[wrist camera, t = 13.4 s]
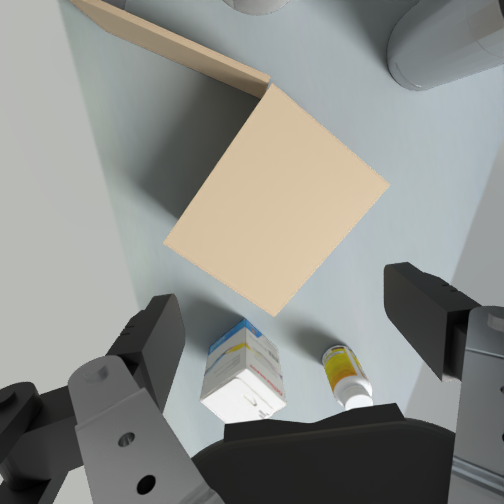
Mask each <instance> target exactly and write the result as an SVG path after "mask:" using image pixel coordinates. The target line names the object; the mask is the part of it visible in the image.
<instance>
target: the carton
mask: <svg viewBox="0 0 504 504" xmlns="http://www.w3.org/2000/svg"><path fill="white" fill-rule="evenodd" d="M389 186H390V184H389V183H388V182H387V181H385V180H384V179H383V178H382V177H381V176H380V175H379V174H377V173H376V172H375V171H374V170H373V169H372V168H370V167H369V166H368V165H367V164H366V163H365V162H363V161H362V160H361V159H360V158H359V157H358V156H357V155H355V154H354V153H353V152H352V151H351V150H350V149H348V148H347V147H346V146H345V145H344V144H343V143H341V142H340V141H339V140H338V139H337V138H336V137H335V136H333V135H332V134H331V133H330V132H329V131H328V130H326V129H325V128H324V127H323V126H322V125H321V124H319V123H318V122H317V121H316V120H315V119H314V118H313V117H311V116H310V115H309V114H308V113H307V112H306V111H304V110H303V109H302V108H301V107H300V106H299V105H297V104H296V103H295V102H294V101H293V100H292V99H290V98H289V97H288V96H287V95H286V94H285V93H284V92H282V91H281V90H280V89H279V88H278V87H277V86H275V85H274V84H273V83H272V84H271V86H270V87H269V89H268V90H267V92H266V93H265V95H264V96H263V98H262V99H261V100H260V102H259V103H258V105H257V106H256V108H255V109H254V111H253V112H252V114H251V115H250V117H249V118H248V119H247V121H246V122H245V124H244V125H243V127H242V128H241V130H240V131H239V133H238V134H237V136H236V137H235V138H234V140H233V141H232V143H231V144H230V146H229V147H228V149H227V150H226V152H225V153H224V155H223V156H222V157H221V159H220V160H219V162H218V163H217V165H216V166H215V168H214V169H213V171H212V172H211V174H210V175H209V176H208V178H207V179H206V181H205V182H204V184H203V185H202V187H201V188H200V190H199V191H198V193H197V194H196V195H195V197H194V198H193V200H192V201H191V203H190V204H189V206H188V207H187V209H186V210H185V212H184V213H183V214H182V216H181V217H180V219H179V220H178V222H177V223H176V225H175V226H174V228H173V229H172V231H171V232H170V233H169V235H168V236H167V238H166V239H165V241H164V242H163V244H165V245H166V246H168V247H169V248H171V249H172V250H174V251H175V252H177V253H178V254H180V255H181V256H183V257H184V258H186V259H188V260H189V261H191V262H192V263H194V264H195V265H197V266H198V267H200V268H201V269H203V270H204V271H206V272H207V273H209V274H210V275H212V276H213V277H215V278H216V279H218V280H219V281H221V282H222V283H224V284H225V285H227V286H228V287H230V288H231V289H233V290H234V291H236V292H237V293H239V294H240V295H242V296H243V297H245V298H246V299H248V300H249V301H251V302H252V303H254V304H255V305H257V306H258V307H260V308H262V309H263V310H265V311H266V312H268V313H269V314H271V315H272V316H274V317H275V316H276V315H277V314H278V313H279V311H280V310H281V309H282V308H283V307H284V306H285V305H286V303H287V302H288V301H289V300H290V299H291V298H292V297H293V295H294V294H295V293H296V292H297V291H298V290H299V289H300V287H301V286H302V285H303V284H304V283H305V282H306V281H307V279H308V278H309V277H310V276H311V275H312V274H313V273H314V271H315V270H316V269H317V268H318V267H319V266H320V265H321V263H322V262H323V261H324V260H325V259H326V258H327V257H328V255H329V254H330V253H331V252H332V251H333V250H334V249H335V247H336V246H337V245H338V244H339V243H340V242H341V241H342V239H343V238H344V237H345V236H346V235H347V234H348V233H349V231H350V230H351V229H352V228H353V227H354V226H355V225H356V223H357V222H358V221H359V220H360V219H361V218H362V217H363V215H364V214H365V213H366V212H367V211H368V210H369V209H370V207H371V206H372V205H373V204H374V203H375V202H376V201H377V199H378V198H379V197H380V196H381V195H382V194H383V193H384V191H385V190H386V189H387V188H388V187H389Z"/></svg>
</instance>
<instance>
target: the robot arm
mask: <svg viewBox="0 0 504 504" xmlns="http://www.w3.org/2000/svg"><path fill="white" fill-rule="evenodd" d="M387 62H388V67H389V70H390V72H391V74H392V76H393V78H394V79H395V80H396V81H397V83H399V84H400V85H401V86H403V87H404V88H407V89H409V90H415V91H421V90H427V89H430V88H433V87H436V86H439V85H442V84H445V83H449V82H452V81H455V80H458V79H461V78H464V77H467V76H470V75H473V74H476V73H479V72H482V71H485V70H488V69H491V68H493V67H496V66H499V65H502V64H504V0H420V1H419V2H418V3H417V4H416V5H415V6H414V7H412V8H411V9H410V10H409V11H408V12H407V13H406V14H405V15H403V16H402V17H401V19H400V20H399V21H398V23H397V24H396V25H395V27H394V29H393V31H392V33H391V35H390V39H389V42H388V47H387ZM384 308H385V311H386V314H387V316H388V318H389V319H390V321H391V322H392V323H393V324H394V325H395V327H396V328H397V329H398V330H399V331H400V333H401V334H402V335H403V336H404V337H405V339H406V340H407V341H408V342H409V343H410V344H411V346H412V347H413V348H414V349H415V350H416V352H417V353H418V354H419V355H420V356H421V358H422V359H423V360H424V361H425V362H426V363H427V365H428V366H429V367H430V368H431V369H432V371H433V372H434V373H435V374H436V375H437V377H438V378H439V379H440V380H441V381H442V382H446V381H453V380H460V381H461V382H462V383H461V391H460V400H459V409H458V418H457V427H456V433H454V432H452V431H450V430H448V429H446V428H443V427H440V426H438V425H435V424H432V423H429V422H425V421H422V420H417V419H412V418H404V416H403V414H402V413H401V411H400V409H399V407H398V406H397V404H396V403H392V404H383V405H375V406H367V407H359V408H352V409H350V410H347V411H344V412H342V413H339V414H336V415H334V416H331V417H328V418H326V419H323V420H320V421H318V422H315V423H301V422H292V421H282V420H273V419H261V420H253V421H245V422H236V423H228V424H225V428H224V439H222V440H220V441H217V442H215V443H213V444H211V445H209V446H208V447H206V448H204V449H203V450H201V451H200V452H198V453H197V454H196V455H194V456H193V457H192V458H190V457H189V455H188V454H187V452H186V451H185V449H184V448H183V446H182V444H181V443H180V441H179V440H178V438H177V437H176V435H175V434H174V432H173V430H172V429H171V427H170V426H169V424H168V423H167V421H166V420H165V418H164V417H163V415H162V413H163V410H164V407H165V404H166V401H167V398H168V395H169V392H170V389H171V386H172V383H173V379H174V376H175V373H176V370H177V367H178V364H179V361H180V358H181V355H182V352H183V348H184V345H185V329H184V325H183V321H182V317H181V313H180V309H179V305H178V301H177V298H176V296H175V294H166V295H159V296H154V297H153V298H152V300H151V301H150V303H149V304H148V306H147V307H146V309H145V310H141V311H140V312H139V313H137V314H136V315H135V316H133V317H132V318H131V319H130V321H129V322H128V323H127V325H126V326H125V329H123V331H122V332H121V333H120V336H118V338H117V339H116V341H115V342H114V344H113V345H112V346H111V348H110V349H109V351H108V353H107V354H106V355H105V356H103V357H99V358H96V359H94V360H92V361H89V362H88V363H86V364H84V365H82V366H81V367H80V368H78V369H77V370H76V371H75V372H74V373H73V374H72V375H71V377H70V378H69V380H68V385H67V386H64V387H61V388H58V389H55V390H52V391H50V392H47V393H44V394H41V395H39V394H38V391H37V389H36V387H35V385H34V384H33V383H31V382H20V383H16V384H12V385H10V386H7V387H5V388H3V389H1V390H0V474H1V475H2V477H3V479H4V480H3V482H2V483H1V485H0V504H53V502H54V500H55V498H56V496H57V494H58V492H59V490H60V488H61V486H62V484H63V482H64V480H65V478H66V476H67V474H68V472H69V471H71V470H73V469H75V468H78V467H80V466H83V465H84V468H85V472H86V476H87V480H88V484H89V488H90V492H91V496H92V500H93V504H504V307H499V306H482V305H480V304H479V303H477V302H476V301H474V300H473V299H471V298H470V297H468V296H467V295H465V294H464V293H462V292H461V291H458V290H457V289H456V288H454V287H453V286H451V285H449V284H448V283H447V282H445V281H444V280H442V279H441V278H439V277H437V276H434V275H431V274H428V273H425V272H424V273H423V272H422V271H420V270H419V269H417V268H416V267H415V266H413V265H412V264H410V263H409V262H403V263H395V264H388V265H386V266H385V268H384Z"/></svg>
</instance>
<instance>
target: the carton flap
mask: <svg viewBox="0 0 504 504" xmlns="http://www.w3.org/2000/svg"><path fill="white" fill-rule="evenodd" d="M69 1H70V2H72V3H73V4H74V5H75V6H76V7H78V8H79V9H80V10H81V11H82V12H84V13H85V14H86V15H87V16H88V17H89V18H91V19H92V20H93V21H94V22H95V23H97V24H98V25H99V26H100V27H101V28H103V29H104V30H105V31H106V32H108V33H111V34H113V35H115V36H118V37H120V38H122V39H125V40H127V41H129V42H131V43H134V44H136V45H138V46H141V47H143V48H145V49H148V50H150V51H152V52H154V53H157V54H159V55H161V56H164V57H166V58H168V59H171V60H173V61H175V62H177V63H180V64H182V65H184V66H187V67H189V68H191V69H194V70H196V71H198V72H200V73H203V74H205V75H207V76H210V77H212V78H214V79H216V80H219V81H221V82H223V83H226V84H228V85H230V86H233V87H235V88H237V89H239V90H242V91H244V92H246V93H249V94H251V95H253V96H256V97H258V98H260V99H262V98H263V96H264V95H265V92H266V89H267V86H268V83H269V80H270V76H269V75H267V74H264V73H262V72H260V71H258V70H255V69H253V68H251V67H249V66H246V65H244V64H242V63H240V62H237V61H235V60H233V59H231V58H229V57H226V56H224V55H222V54H220V53H217V52H215V51H213V50H211V49H208V48H206V47H204V46H202V45H199V44H197V43H195V42H193V41H191V40H188V39H186V38H184V37H182V36H179V35H177V34H175V33H173V32H170V31H168V30H166V29H164V28H162V27H159V26H157V25H155V24H153V23H150V22H148V21H146V20H144V19H141V18H139V17H137V16H135V15H132V14H130V13H128V12H126V11H124V7H125V2H126V0H69Z"/></svg>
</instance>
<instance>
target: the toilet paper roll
mask: <svg viewBox="0 0 504 504" xmlns="http://www.w3.org/2000/svg"><path fill="white" fill-rule="evenodd" d="M223 1H224V2H226V3H227V4H228V5H229V6H231V7H232V8H234V9H236V10H237V11H240V12H242V13H246V14H250V15H265V14H269V13H272V12H275V11H277V10H278V9H280V8H281V7H283V6H284V5H285V4H286V3H288V2H289V1H290V0H223Z"/></svg>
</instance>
